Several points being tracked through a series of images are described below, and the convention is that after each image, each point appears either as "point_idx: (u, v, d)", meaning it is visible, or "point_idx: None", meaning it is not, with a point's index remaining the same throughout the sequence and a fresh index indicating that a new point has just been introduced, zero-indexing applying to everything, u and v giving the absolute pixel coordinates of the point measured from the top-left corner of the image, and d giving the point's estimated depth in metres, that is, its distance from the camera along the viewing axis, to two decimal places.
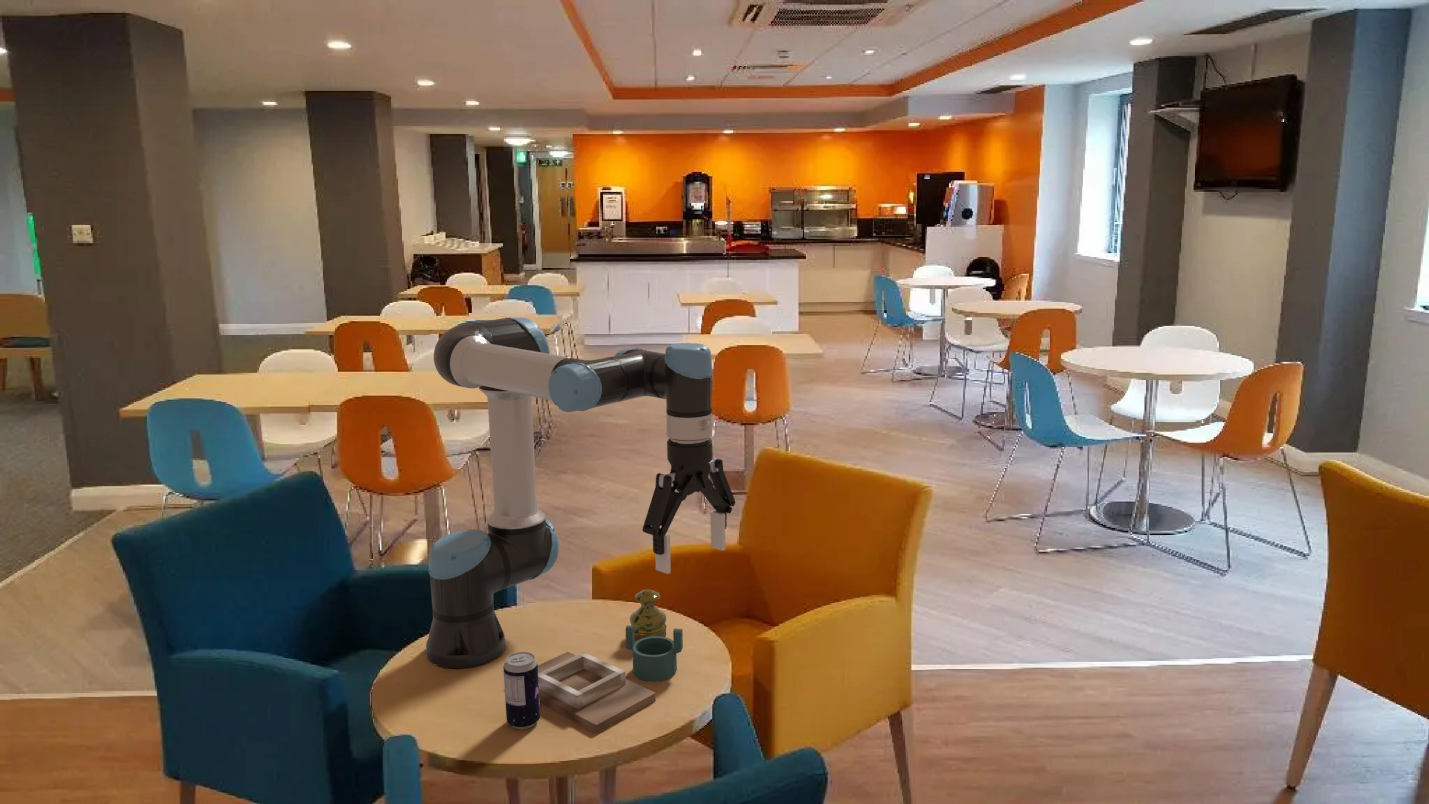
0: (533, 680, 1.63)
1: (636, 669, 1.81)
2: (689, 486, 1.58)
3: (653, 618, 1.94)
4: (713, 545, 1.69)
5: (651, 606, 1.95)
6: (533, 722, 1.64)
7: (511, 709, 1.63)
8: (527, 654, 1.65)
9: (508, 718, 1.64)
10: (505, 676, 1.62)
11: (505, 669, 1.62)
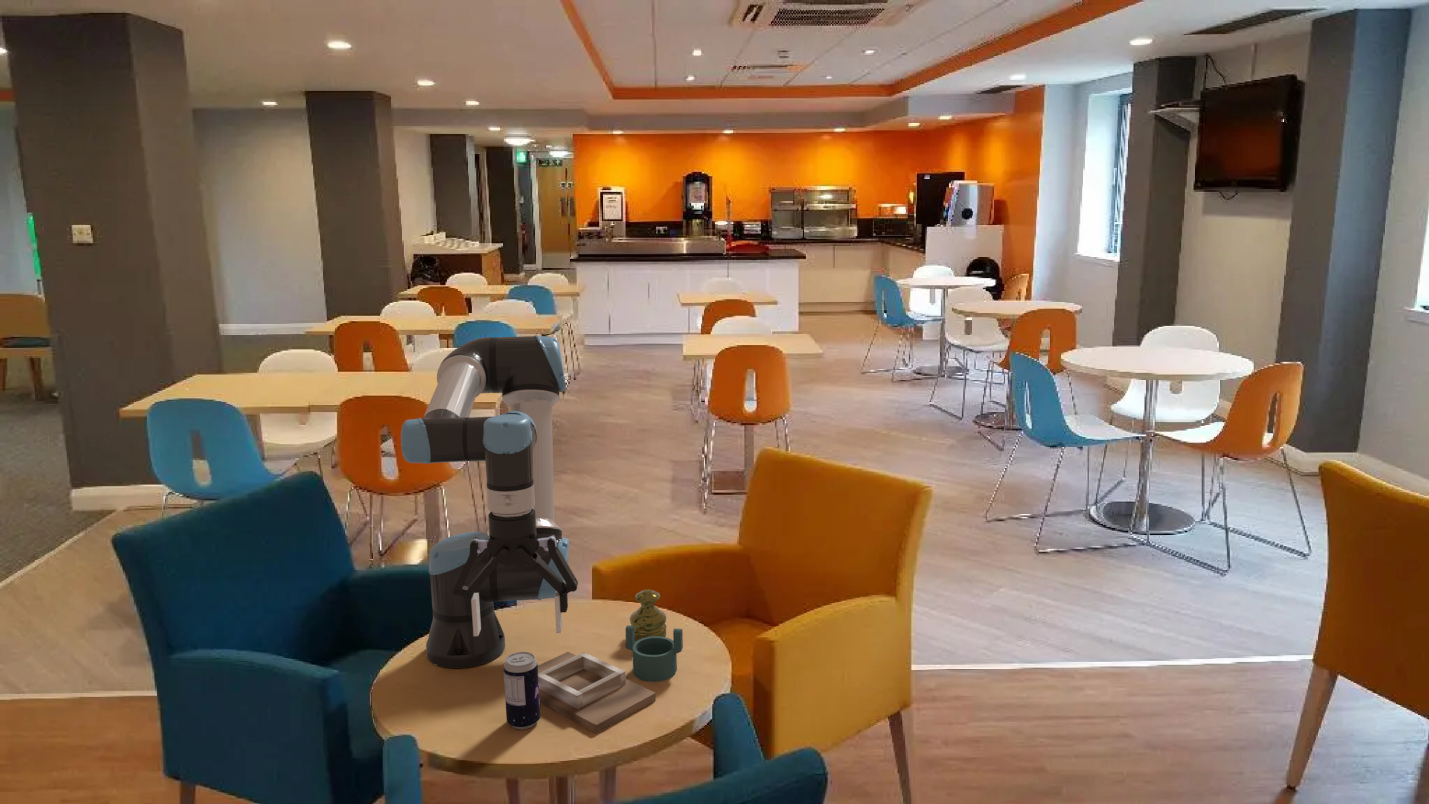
0: (533, 680, 1.63)
1: (636, 669, 1.81)
2: (499, 557, 1.58)
3: (653, 618, 1.94)
4: None
5: (651, 606, 1.95)
6: (533, 722, 1.64)
7: (511, 709, 1.63)
8: (527, 654, 1.65)
9: (508, 718, 1.64)
10: (505, 676, 1.62)
11: (505, 669, 1.62)
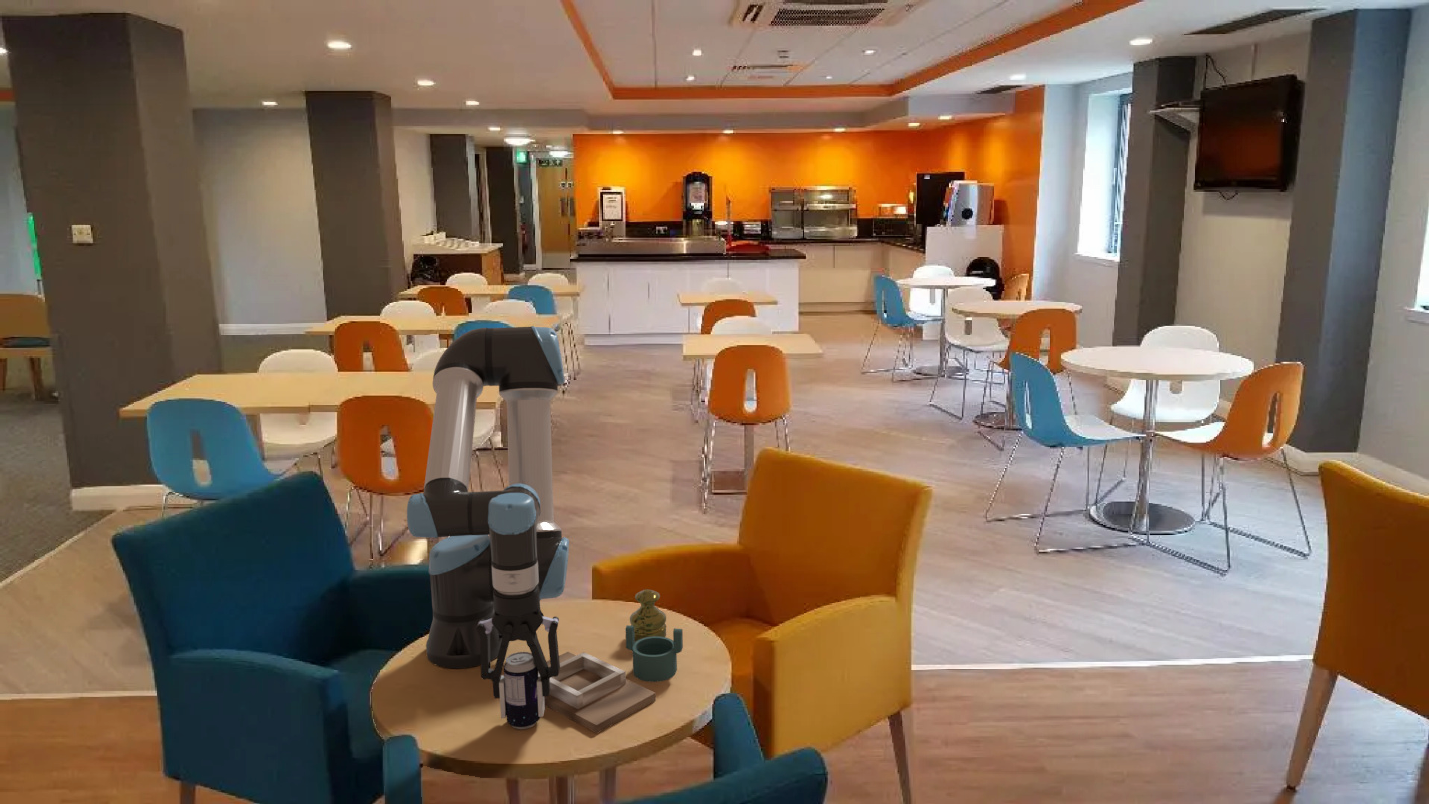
0: (533, 680, 1.63)
1: (636, 669, 1.81)
2: (507, 634, 1.61)
3: (653, 618, 1.94)
4: None
5: (651, 606, 1.95)
6: (533, 722, 1.64)
7: (511, 709, 1.63)
8: (527, 654, 1.65)
9: (508, 718, 1.64)
10: (505, 676, 1.62)
11: (505, 669, 1.62)
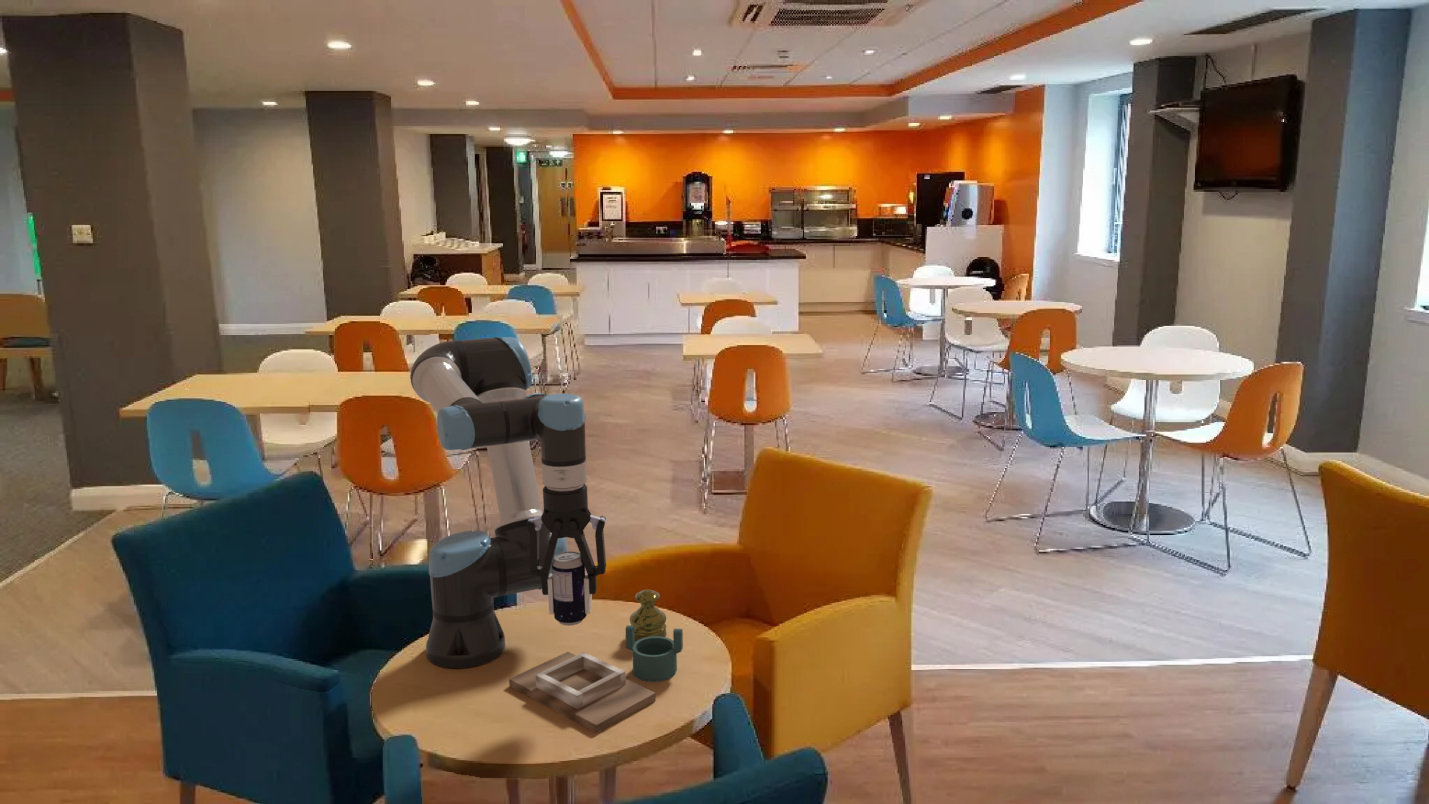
0: (580, 577, 1.67)
1: (636, 669, 1.81)
2: (556, 531, 1.66)
3: (653, 618, 1.94)
4: None
5: (651, 606, 1.95)
6: (580, 619, 1.69)
7: (558, 605, 1.68)
8: (575, 553, 1.70)
9: (556, 614, 1.69)
10: (553, 573, 1.67)
11: (553, 566, 1.67)
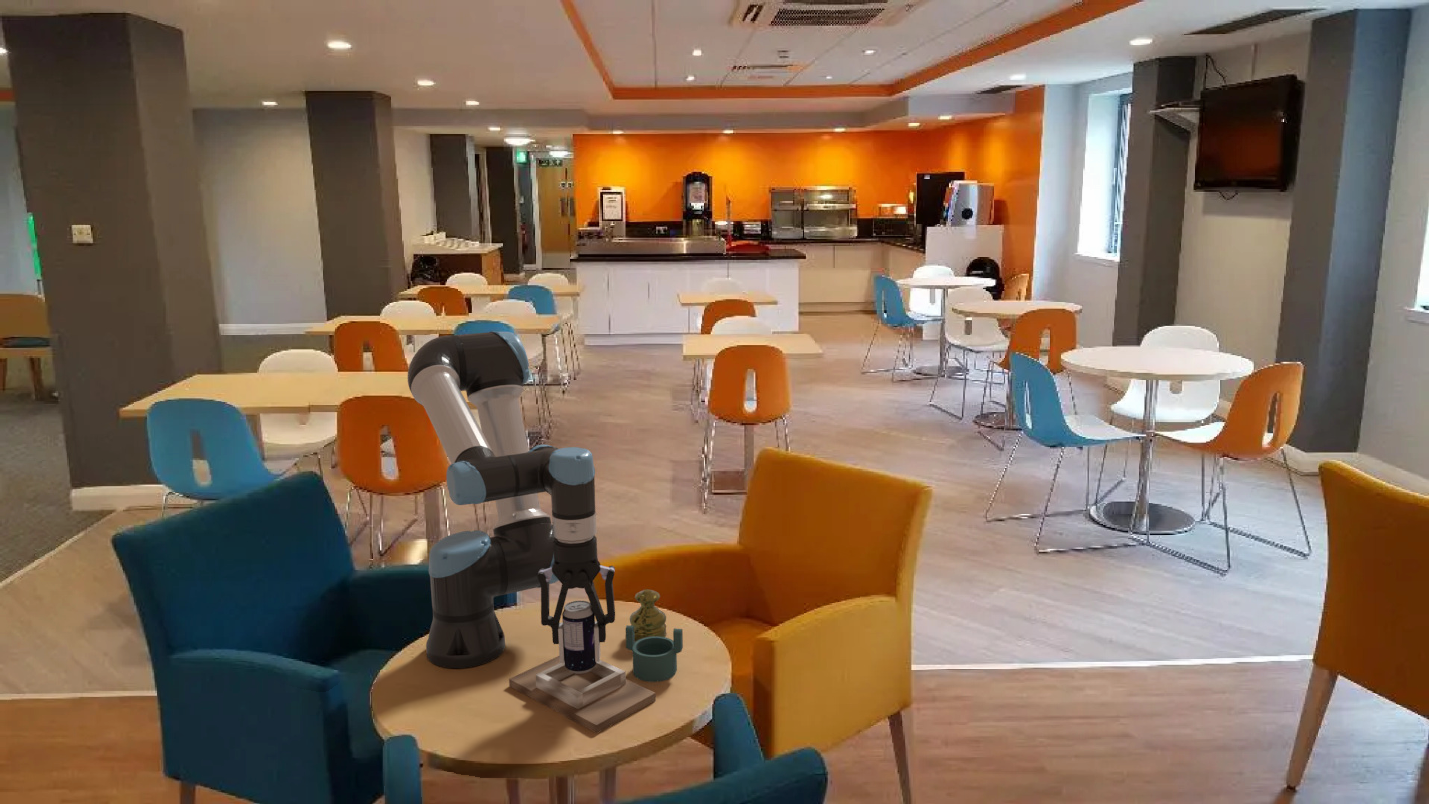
0: (590, 626, 1.71)
1: (636, 669, 1.81)
2: (567, 582, 1.69)
3: (653, 618, 1.94)
4: None
5: (651, 606, 1.95)
6: (590, 667, 1.72)
7: (569, 654, 1.71)
8: (584, 602, 1.74)
9: (567, 663, 1.72)
10: (564, 622, 1.71)
11: (564, 616, 1.70)
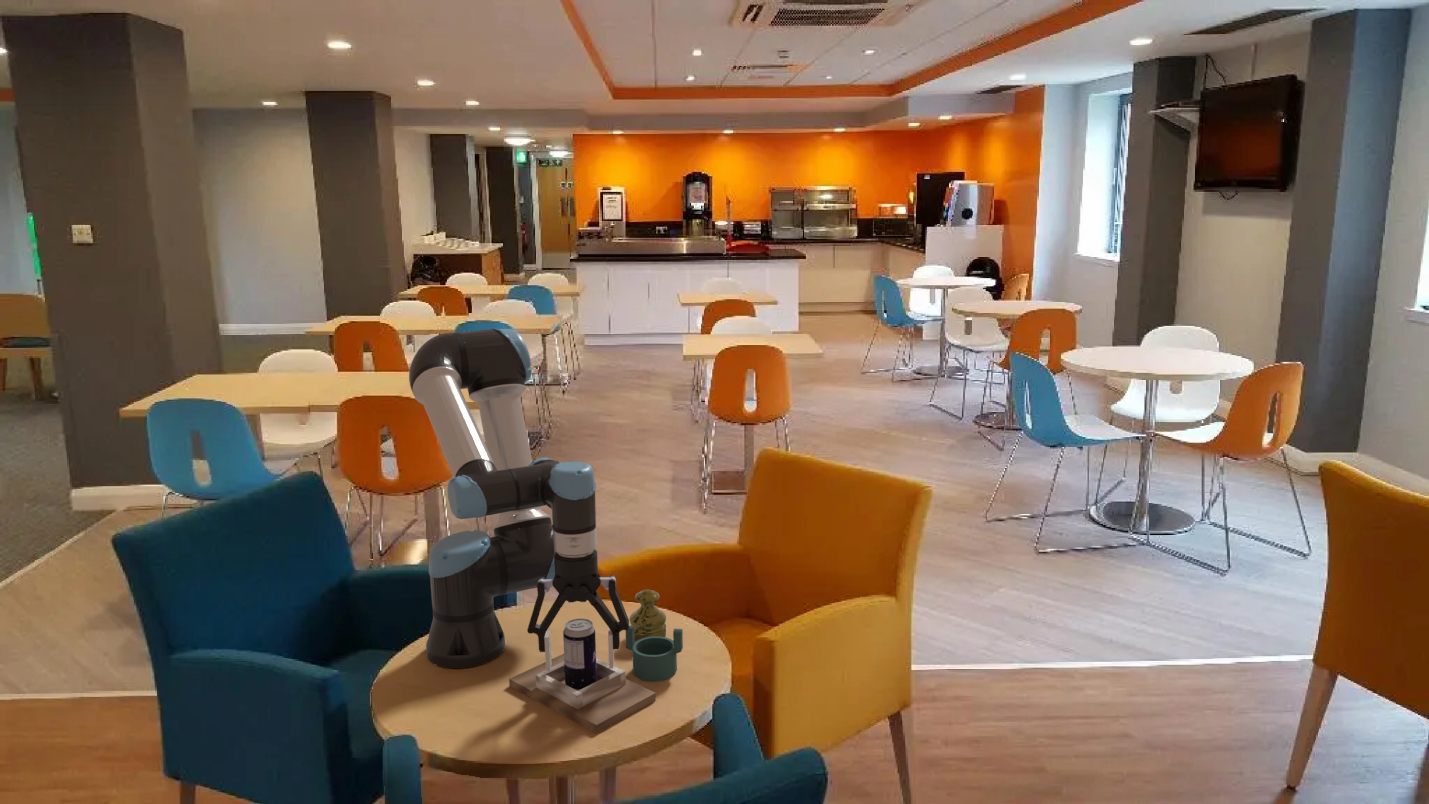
0: (591, 644, 1.72)
1: (636, 669, 1.81)
2: (565, 595, 1.70)
3: (653, 618, 1.94)
4: None
5: (651, 606, 1.95)
6: None
7: (570, 672, 1.72)
8: (585, 620, 1.74)
9: (567, 681, 1.73)
10: (565, 641, 1.71)
11: (565, 634, 1.71)
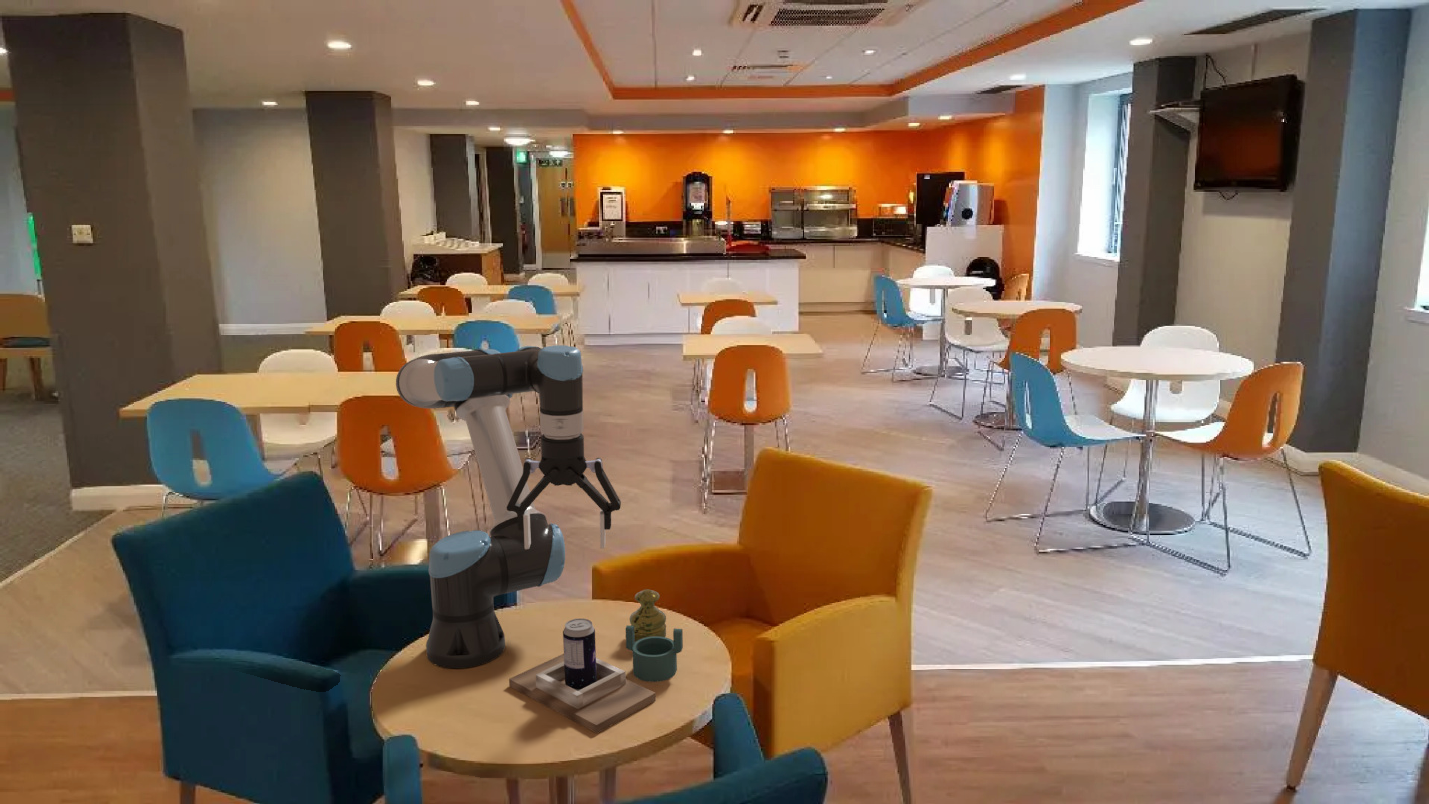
0: (591, 644, 1.72)
1: (636, 669, 1.81)
2: (550, 477, 1.71)
3: (653, 618, 1.94)
4: None
5: (651, 606, 1.95)
6: None
7: (570, 672, 1.72)
8: (585, 620, 1.75)
9: (567, 681, 1.73)
10: (565, 641, 1.72)
11: (565, 634, 1.71)
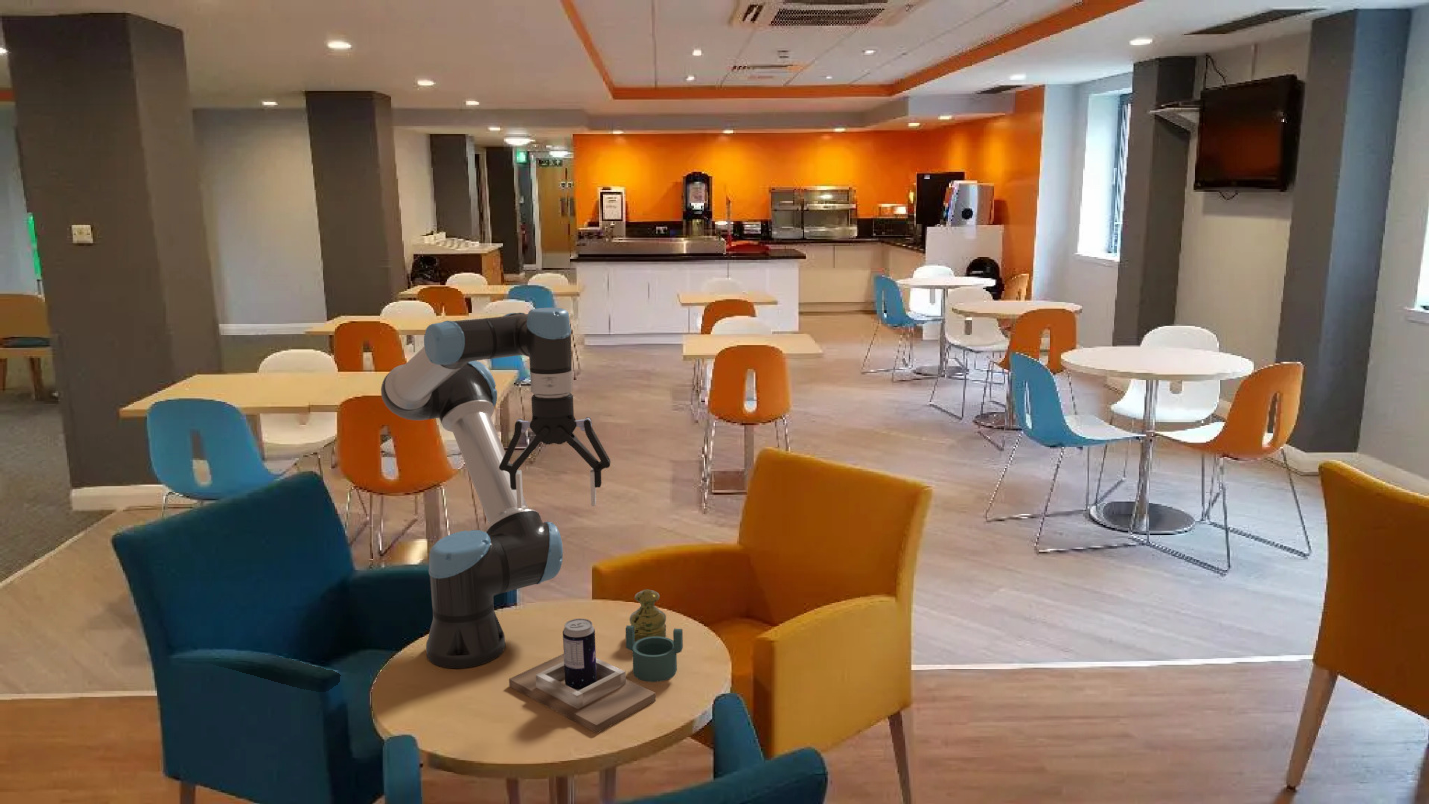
0: (591, 644, 1.72)
1: (636, 669, 1.81)
2: (541, 436, 1.76)
3: (653, 618, 1.94)
4: None
5: (651, 606, 1.95)
6: None
7: (570, 672, 1.72)
8: (584, 620, 1.74)
9: (567, 681, 1.73)
10: (565, 641, 1.72)
11: (565, 634, 1.71)
